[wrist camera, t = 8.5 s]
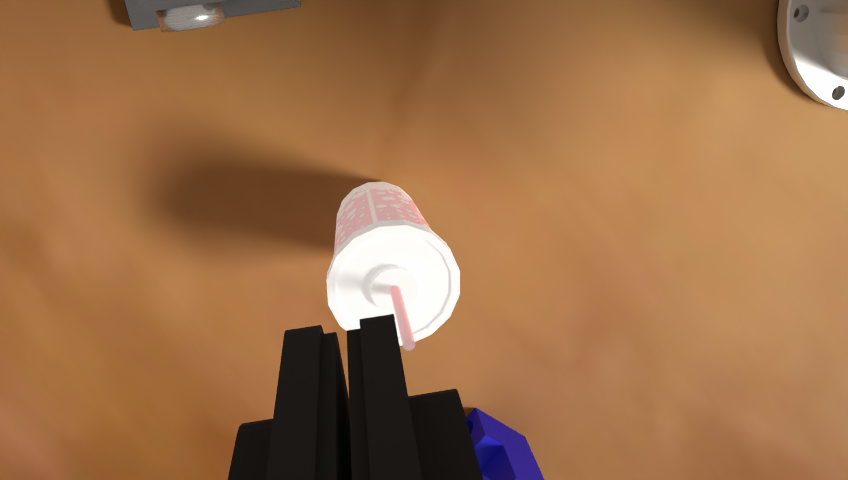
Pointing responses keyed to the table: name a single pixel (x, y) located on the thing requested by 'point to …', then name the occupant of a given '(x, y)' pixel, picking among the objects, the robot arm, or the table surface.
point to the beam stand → (195, 12)
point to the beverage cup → (390, 265)
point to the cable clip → (501, 450)
